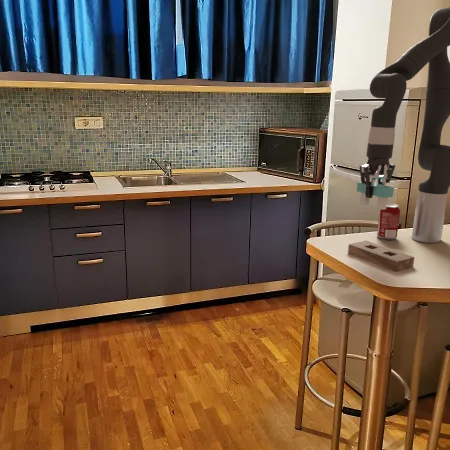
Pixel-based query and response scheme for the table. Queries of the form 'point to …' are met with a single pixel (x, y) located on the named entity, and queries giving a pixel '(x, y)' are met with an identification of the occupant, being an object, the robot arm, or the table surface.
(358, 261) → the table surface
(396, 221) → the soda can
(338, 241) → the table surface
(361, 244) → the board
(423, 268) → the table surface
